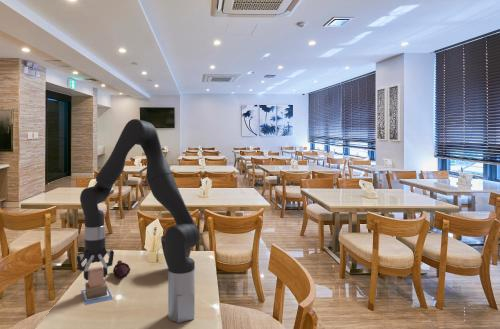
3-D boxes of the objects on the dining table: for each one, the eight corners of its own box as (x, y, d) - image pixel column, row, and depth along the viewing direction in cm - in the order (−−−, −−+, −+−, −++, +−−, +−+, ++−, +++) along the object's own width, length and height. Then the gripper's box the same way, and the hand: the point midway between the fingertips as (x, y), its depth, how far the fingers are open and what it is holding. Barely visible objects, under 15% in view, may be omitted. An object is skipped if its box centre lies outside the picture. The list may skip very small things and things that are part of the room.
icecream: (135, 267, 156) (128, 259, 169) (117, 265, 153) (111, 257, 166) (131, 283, 156) (124, 274, 169) (114, 282, 152) (108, 273, 165)
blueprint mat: (113, 300, 139) (113, 298, 139) (84, 306, 134) (84, 304, 134) (107, 286, 151) (106, 285, 151) (80, 291, 146) (80, 290, 146)
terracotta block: (103, 285, 142) (103, 270, 142) (90, 287, 140) (89, 272, 139) (101, 280, 147) (101, 266, 146) (88, 283, 144) (87, 268, 143)
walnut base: (107, 295, 142) (106, 285, 142) (87, 299, 139) (87, 289, 138) (104, 288, 148) (103, 279, 148) (85, 292, 145) (85, 282, 144)
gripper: (75, 241, 134) (76, 285, 136) (115, 236, 142) (116, 277, 143) (73, 236, 141) (74, 278, 142) (112, 232, 148) (113, 271, 150)
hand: (95, 277), depth 143 cm, fingers open, 6 cm apart
